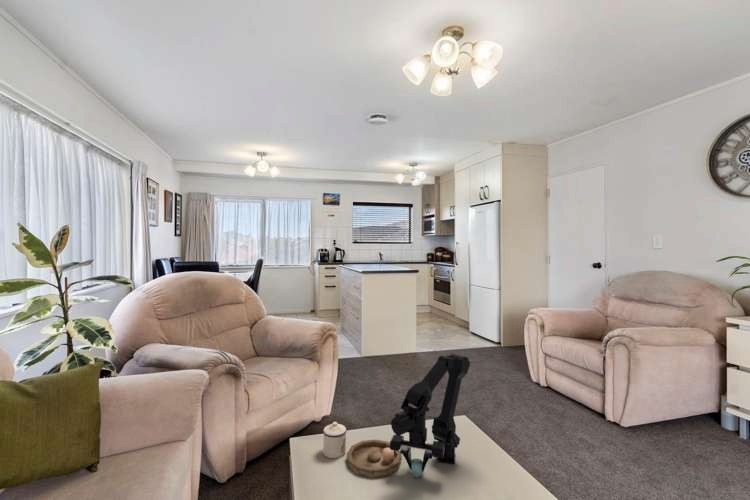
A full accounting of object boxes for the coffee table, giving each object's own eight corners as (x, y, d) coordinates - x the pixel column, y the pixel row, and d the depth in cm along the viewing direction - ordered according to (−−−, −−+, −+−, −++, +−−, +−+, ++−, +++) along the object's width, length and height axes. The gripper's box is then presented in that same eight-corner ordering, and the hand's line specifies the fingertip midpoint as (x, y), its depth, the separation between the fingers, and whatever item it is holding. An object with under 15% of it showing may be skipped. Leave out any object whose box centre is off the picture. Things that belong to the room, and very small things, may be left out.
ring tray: (405, 451, 140) (405, 444, 140) (393, 482, 120) (393, 474, 120) (357, 442, 145) (357, 436, 145) (339, 471, 126) (339, 464, 126)
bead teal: (422, 470, 126) (422, 459, 126) (422, 477, 122) (422, 465, 122) (411, 469, 126) (411, 458, 126) (411, 476, 122) (411, 464, 123)
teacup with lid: (346, 458, 134) (347, 427, 134) (322, 459, 133) (322, 429, 133) (345, 441, 146) (345, 413, 146) (323, 443, 145) (323, 414, 145)
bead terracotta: (394, 459, 133) (394, 448, 133) (392, 465, 129) (392, 454, 129) (384, 457, 134) (384, 446, 134) (381, 463, 130) (381, 452, 130)
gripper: (446, 419, 129) (445, 461, 129) (396, 412, 135) (396, 453, 135) (443, 434, 119) (442, 480, 119) (389, 425, 124) (389, 470, 124)
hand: (416, 470), depth 124 cm, fingers closed on bead teal, 4 cm apart
